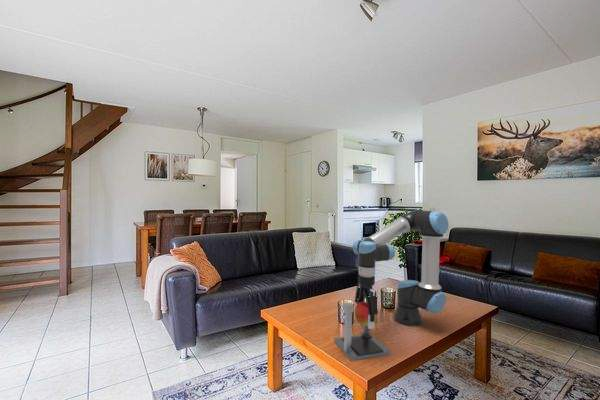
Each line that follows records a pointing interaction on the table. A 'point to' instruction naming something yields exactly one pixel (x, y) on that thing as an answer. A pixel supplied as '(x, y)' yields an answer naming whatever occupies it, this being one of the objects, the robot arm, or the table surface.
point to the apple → (362, 313)
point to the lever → (366, 332)
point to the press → (358, 341)
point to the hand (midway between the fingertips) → (365, 323)
